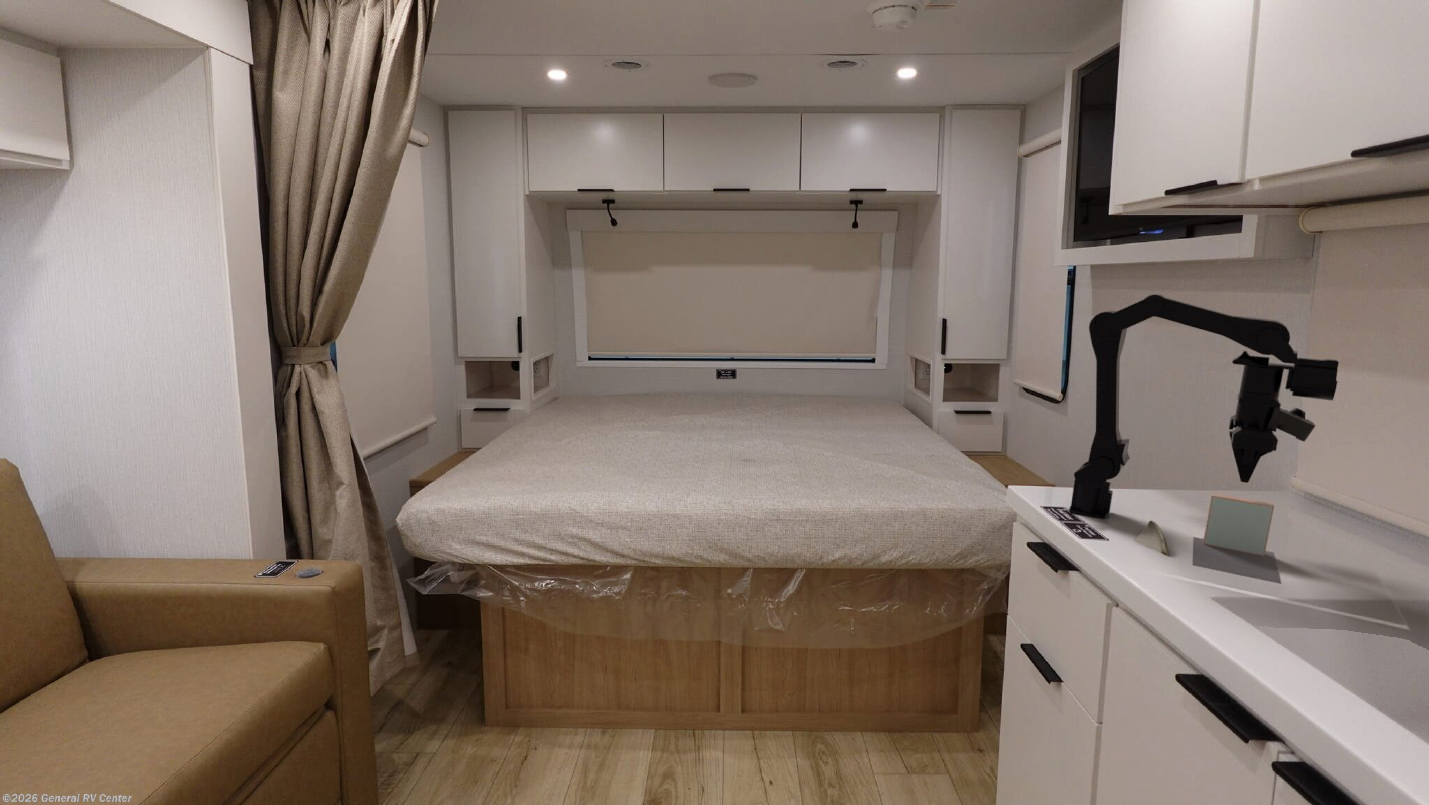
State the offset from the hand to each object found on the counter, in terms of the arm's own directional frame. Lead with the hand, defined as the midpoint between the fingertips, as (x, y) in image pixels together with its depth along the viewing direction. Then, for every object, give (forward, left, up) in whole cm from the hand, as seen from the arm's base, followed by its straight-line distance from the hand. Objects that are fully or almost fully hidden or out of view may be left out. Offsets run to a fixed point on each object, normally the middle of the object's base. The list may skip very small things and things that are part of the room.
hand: (1243, 478), depth 141 cm
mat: (0, -12, -12) cm, 17 cm away
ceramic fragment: (-12, -11, -13) cm, 21 cm away
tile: (0, -6, -12) cm, 13 cm away
